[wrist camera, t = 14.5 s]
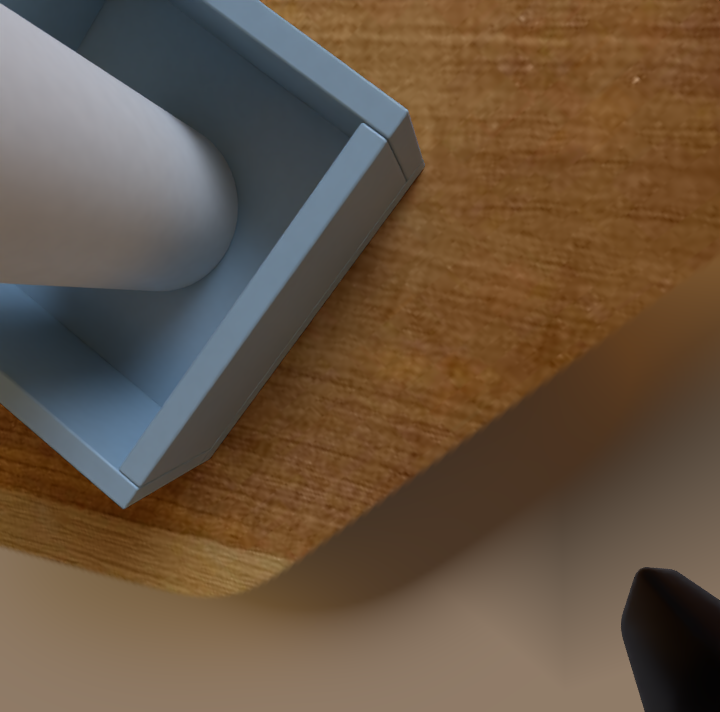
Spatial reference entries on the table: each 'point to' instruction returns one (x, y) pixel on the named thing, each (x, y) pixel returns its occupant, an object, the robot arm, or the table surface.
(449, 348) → the table surface
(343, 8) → the table surface
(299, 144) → the light blue box
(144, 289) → the detergent bottle
